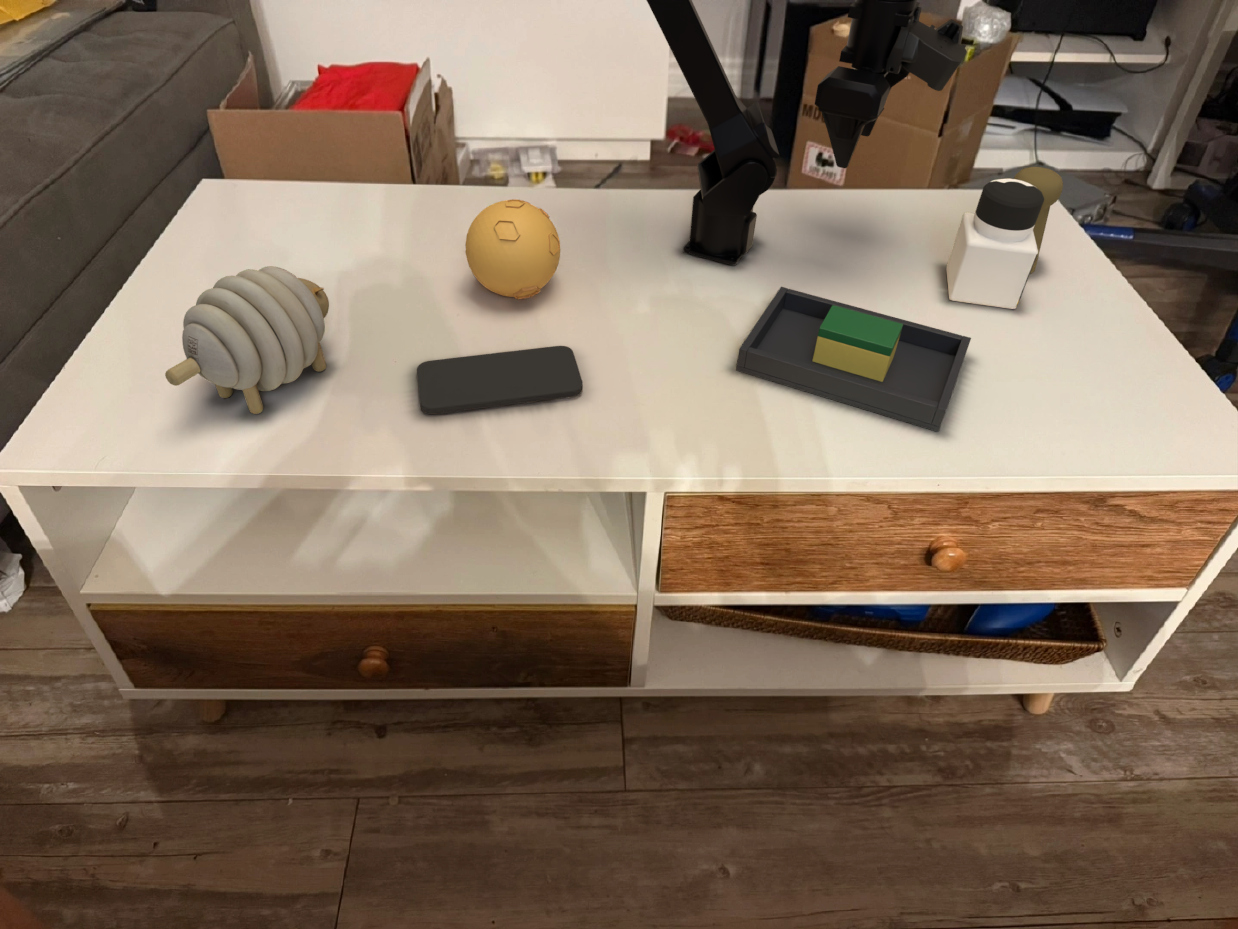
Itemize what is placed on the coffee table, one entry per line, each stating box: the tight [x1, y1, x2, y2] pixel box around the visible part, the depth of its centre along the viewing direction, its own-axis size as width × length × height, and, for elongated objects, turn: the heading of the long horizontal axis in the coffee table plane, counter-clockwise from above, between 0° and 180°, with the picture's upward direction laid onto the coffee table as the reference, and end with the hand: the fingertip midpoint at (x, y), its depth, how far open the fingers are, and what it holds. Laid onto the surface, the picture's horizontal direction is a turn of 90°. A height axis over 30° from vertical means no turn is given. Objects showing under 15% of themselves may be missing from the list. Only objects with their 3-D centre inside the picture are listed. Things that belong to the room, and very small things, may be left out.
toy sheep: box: [164, 265, 330, 415], centre depth 79 cm, size 11×17×11 cm, turn 152°
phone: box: [416, 345, 584, 415], centre depth 84 cm, size 7×1×15 cm
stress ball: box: [464, 198, 561, 300], centre depth 92 cm, size 10×10×10 cm
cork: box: [1012, 166, 1064, 275], centre depth 99 cm, size 6×6×11 cm
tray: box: [735, 286, 972, 433], centre depth 87 cm, size 20×13×3 cm, turn 64°
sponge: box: [812, 305, 903, 382], centre depth 86 cm, size 7×4×4 cm, turn 64°
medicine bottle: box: [945, 178, 1044, 310], centre depth 94 cm, size 7×7×12 cm
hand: (853, 150), depth 96 cm, fingers open, 9 cm apart
